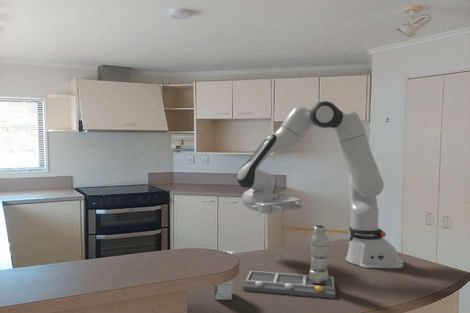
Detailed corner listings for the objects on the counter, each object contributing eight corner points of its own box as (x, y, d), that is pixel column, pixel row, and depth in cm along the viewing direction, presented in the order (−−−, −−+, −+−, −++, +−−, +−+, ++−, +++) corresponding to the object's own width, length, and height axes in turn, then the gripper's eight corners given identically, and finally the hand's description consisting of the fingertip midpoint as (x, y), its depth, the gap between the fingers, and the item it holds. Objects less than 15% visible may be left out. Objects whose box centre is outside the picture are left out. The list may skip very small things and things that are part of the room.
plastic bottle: (306, 280, 139) (307, 224, 138) (324, 279, 140) (325, 224, 139) (312, 287, 133) (313, 228, 131) (331, 286, 134) (332, 228, 132)
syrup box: (215, 292, 132) (215, 250, 131) (233, 293, 131) (233, 250, 131) (214, 299, 126) (214, 255, 125) (232, 300, 126) (232, 255, 125)
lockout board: (333, 282, 141) (333, 275, 141) (335, 298, 127) (335, 290, 127) (250, 276, 147) (250, 269, 147) (243, 290, 133) (243, 282, 133)
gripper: (249, 198, 159) (270, 203, 148) (287, 193, 171) (309, 197, 159) (249, 214, 160) (270, 219, 148) (287, 208, 171) (310, 212, 160)
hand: (291, 208), depth 154 cm, fingers open, 8 cm apart
